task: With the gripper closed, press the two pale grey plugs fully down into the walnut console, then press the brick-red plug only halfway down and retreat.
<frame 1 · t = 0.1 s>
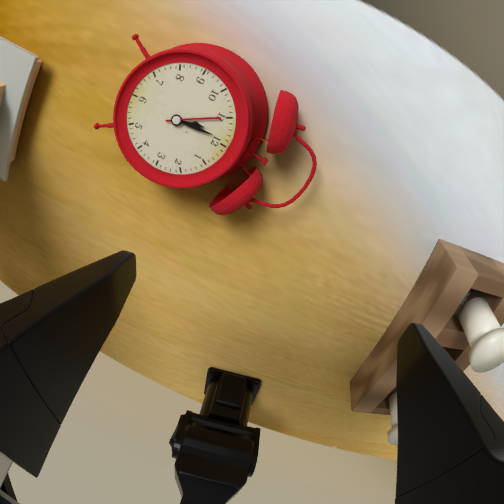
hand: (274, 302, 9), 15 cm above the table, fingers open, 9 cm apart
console: (426, 331, 28), on the table
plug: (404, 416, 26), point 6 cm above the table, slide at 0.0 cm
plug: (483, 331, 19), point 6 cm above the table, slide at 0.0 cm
alarm clock: (216, 122, 21), on the table
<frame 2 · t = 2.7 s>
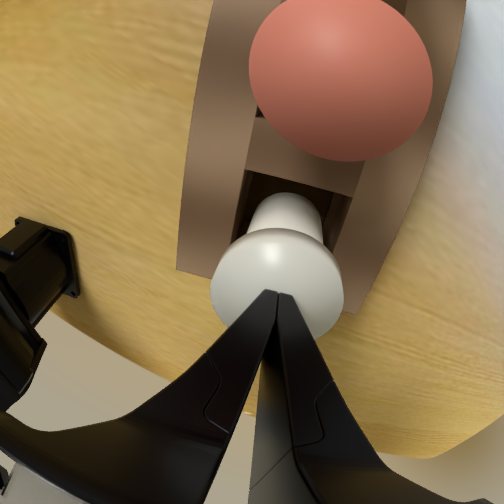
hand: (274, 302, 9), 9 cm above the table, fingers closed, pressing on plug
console: (321, 77, 13), on the table
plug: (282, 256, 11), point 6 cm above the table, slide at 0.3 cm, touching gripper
red plug: (333, 74, 8), point 6 cm above the table, slide at 0.0 cm
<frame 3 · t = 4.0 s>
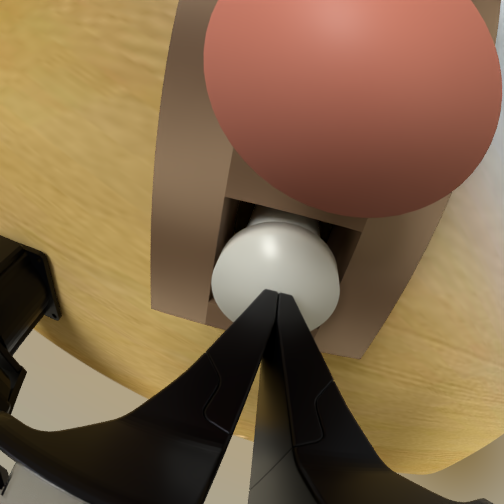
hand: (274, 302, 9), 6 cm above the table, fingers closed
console: (322, 76, 11), on the table
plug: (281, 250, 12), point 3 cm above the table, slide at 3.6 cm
red plug: (343, 72, 5), point 6 cm above the table, slide at 0.0 cm
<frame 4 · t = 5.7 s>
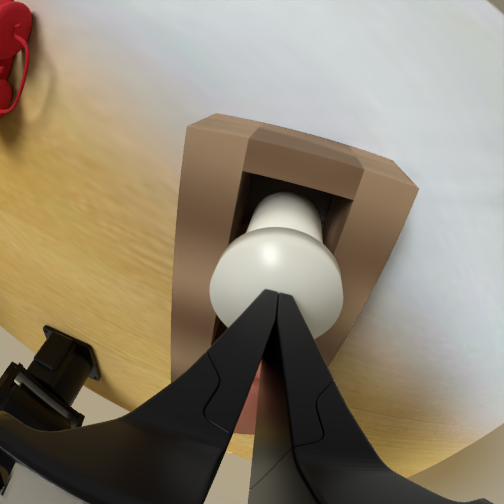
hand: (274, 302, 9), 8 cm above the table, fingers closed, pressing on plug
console: (263, 289, 20), on the table
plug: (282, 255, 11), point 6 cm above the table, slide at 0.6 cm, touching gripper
red plug: (246, 371, 14), point 6 cm above the table, slide at 0.0 cm
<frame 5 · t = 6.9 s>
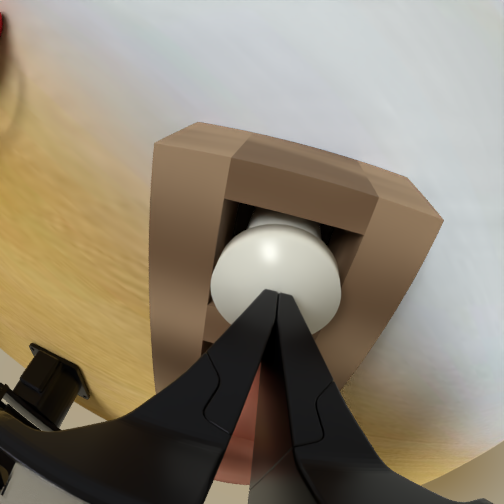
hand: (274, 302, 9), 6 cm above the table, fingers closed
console: (256, 320, 17), on the table
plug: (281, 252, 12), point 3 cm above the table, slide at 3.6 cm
red plug: (235, 419, 12), point 6 cm above the table, slide at 0.0 cm
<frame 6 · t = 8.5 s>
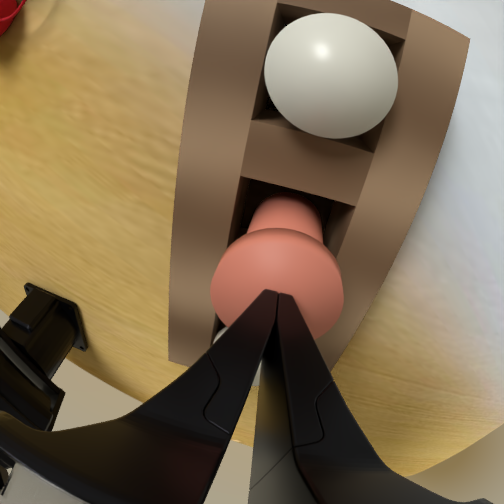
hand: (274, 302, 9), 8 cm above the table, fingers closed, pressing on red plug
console: (289, 200, 16), on the table
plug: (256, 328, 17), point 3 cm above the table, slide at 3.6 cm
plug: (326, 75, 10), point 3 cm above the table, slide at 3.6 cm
red plug: (282, 256, 11), point 5 cm above the table, slide at 1.2 cm, touching gripper
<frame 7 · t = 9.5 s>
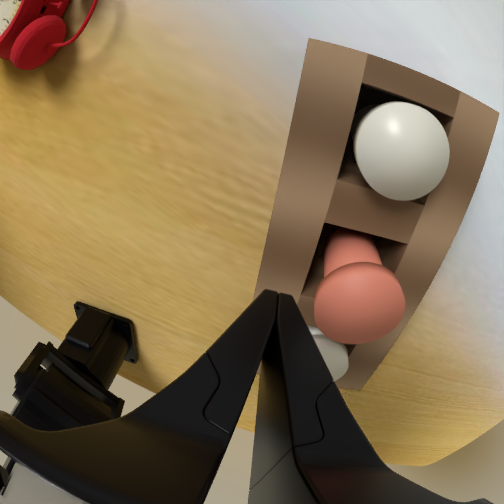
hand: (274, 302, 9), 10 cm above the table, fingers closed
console: (345, 231, 19), on the table
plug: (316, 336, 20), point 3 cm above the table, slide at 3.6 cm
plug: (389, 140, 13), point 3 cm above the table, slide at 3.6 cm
red plug: (354, 277, 15), point 5 cm above the table, slide at 1.7 cm
alarm clock: (44, 0, 12), on the table
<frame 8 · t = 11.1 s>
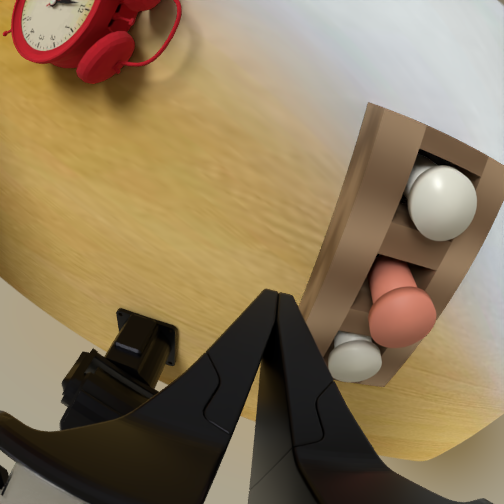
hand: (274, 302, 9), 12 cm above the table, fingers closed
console: (381, 255, 22), on the table
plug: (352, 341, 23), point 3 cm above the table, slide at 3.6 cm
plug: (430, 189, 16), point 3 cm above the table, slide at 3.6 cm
red plug: (395, 295, 18), point 5 cm above the table, slide at 1.7 cm
alarm clock: (103, 10, 15), on the table
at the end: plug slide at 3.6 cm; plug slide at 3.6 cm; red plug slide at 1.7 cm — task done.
